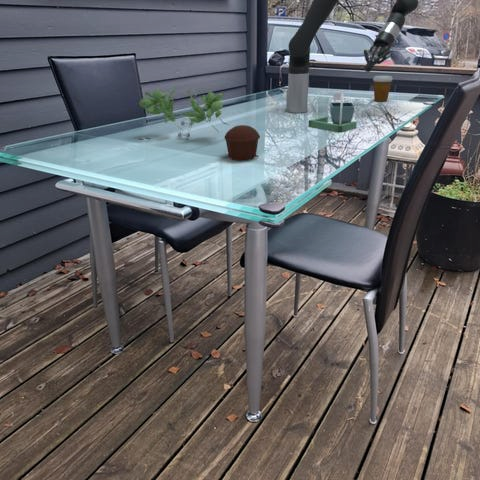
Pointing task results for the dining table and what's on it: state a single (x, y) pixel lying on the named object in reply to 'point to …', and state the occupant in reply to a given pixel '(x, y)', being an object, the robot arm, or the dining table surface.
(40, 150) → the dining table surface
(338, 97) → the green u-shaped frame
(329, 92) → the dining table surface
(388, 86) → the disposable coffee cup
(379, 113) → the dining table surface
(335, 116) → the flower pot
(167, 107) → the plant cuttings
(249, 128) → the muffin
